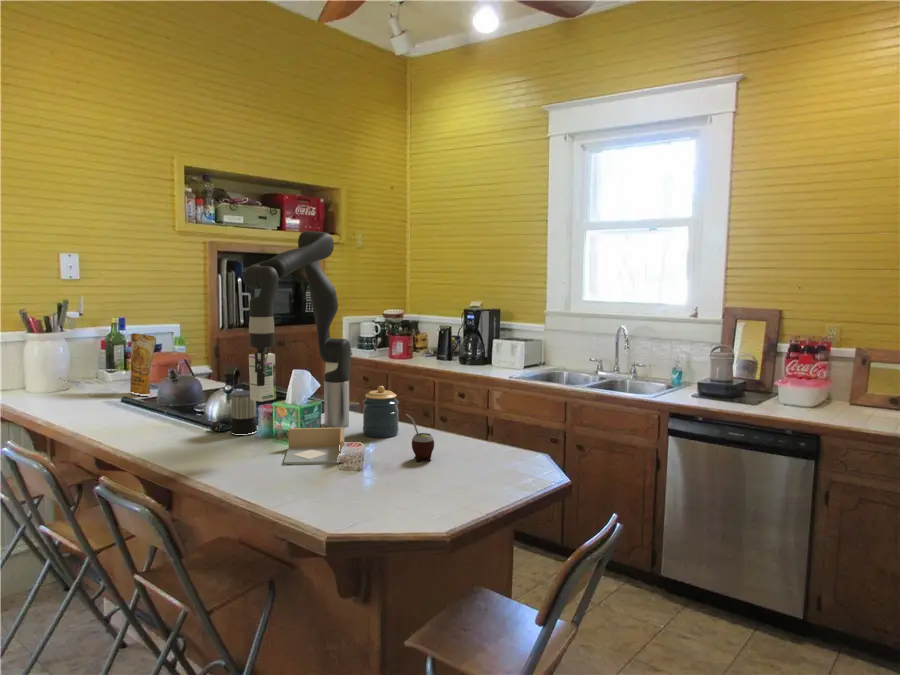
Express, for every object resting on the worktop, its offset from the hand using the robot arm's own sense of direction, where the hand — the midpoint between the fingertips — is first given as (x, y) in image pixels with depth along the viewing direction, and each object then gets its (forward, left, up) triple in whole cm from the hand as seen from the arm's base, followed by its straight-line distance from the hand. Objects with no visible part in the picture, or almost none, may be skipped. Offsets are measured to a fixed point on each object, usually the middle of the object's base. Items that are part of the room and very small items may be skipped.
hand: (262, 383), depth 200 cm
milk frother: (-33, -14, -24) cm, 43 cm away
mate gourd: (+8, +49, -24) cm, 55 cm away
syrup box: (0, 0, -5) cm, 5 cm away
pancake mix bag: (-108, -68, -24) cm, 130 cm away
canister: (-26, +38, -24) cm, 52 cm away
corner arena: (0, +16, -24) cm, 28 cm away
